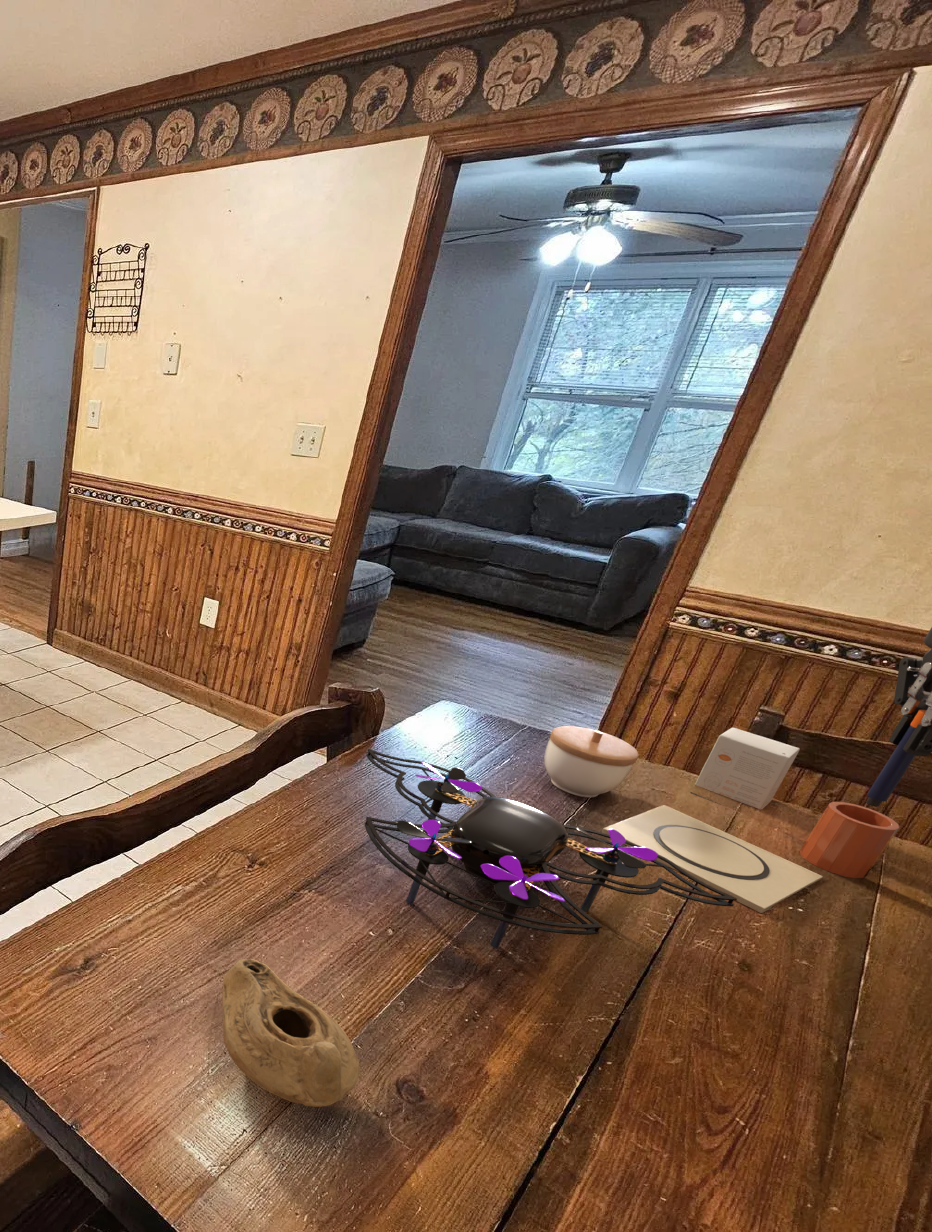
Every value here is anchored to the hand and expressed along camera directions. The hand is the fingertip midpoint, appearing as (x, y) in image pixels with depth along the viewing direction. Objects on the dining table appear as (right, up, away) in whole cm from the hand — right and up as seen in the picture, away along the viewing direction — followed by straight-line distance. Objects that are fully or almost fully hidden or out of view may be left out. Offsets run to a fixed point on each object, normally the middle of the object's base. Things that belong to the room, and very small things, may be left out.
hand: (907, 748), depth 96 cm
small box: (-2, -9, +22) cm, 23 cm away
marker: (0, -7, +4) cm, 8 cm away
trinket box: (-23, -7, +23) cm, 34 cm away
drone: (-55, -18, -3) cm, 58 cm away
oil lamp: (-88, -27, -25) cm, 95 cm away
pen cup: (-1, -16, +8) cm, 18 cm away
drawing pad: (-17, -15, +8) cm, 24 cm away
